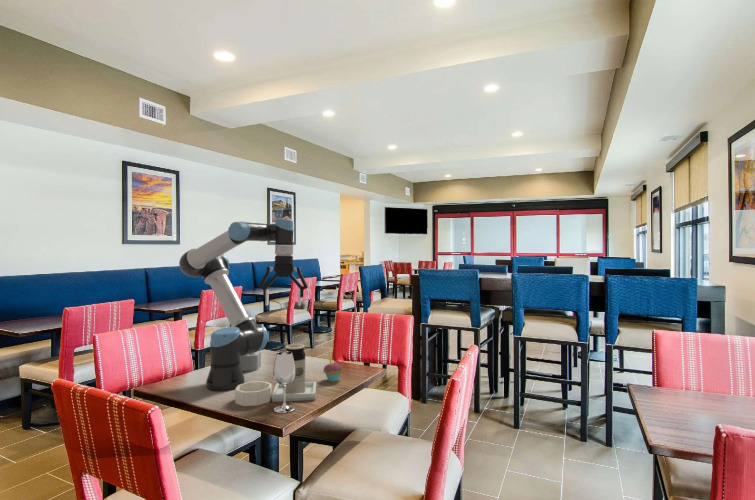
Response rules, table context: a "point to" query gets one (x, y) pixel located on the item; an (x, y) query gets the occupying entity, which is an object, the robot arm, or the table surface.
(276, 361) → the wineglass
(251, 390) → the holder
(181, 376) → the table surface
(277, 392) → the tray
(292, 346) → the travel mug
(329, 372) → the cupcake
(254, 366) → the lumpy-topped squat cylinder
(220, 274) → the robot arm
